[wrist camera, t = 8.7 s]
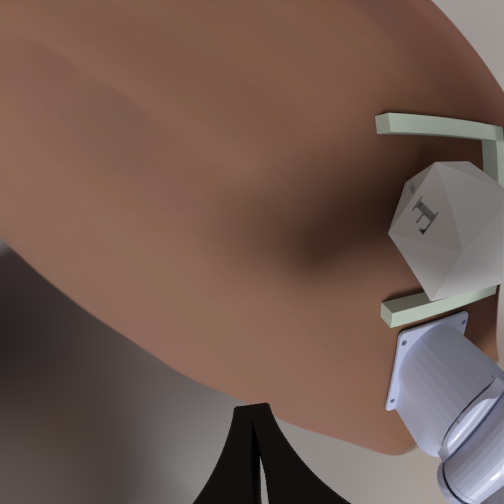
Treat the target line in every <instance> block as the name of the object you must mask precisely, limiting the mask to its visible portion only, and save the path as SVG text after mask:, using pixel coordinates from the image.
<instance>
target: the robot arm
mask: <svg viewBox="0 0 504 504" xmlns="http://www.w3.org/2000/svg"><path fill="white" fill-rule="evenodd" d="M467 319H468V313H467V312H466V311H463V312H460V313H457V314H454V315H452V316H449V317H446V318H443V319H440V320H437V321H434V322H431V323H428V324H424V325H421V326H418V327H415V328H411V329H408V330H405V331H402V332H401V333H400V334H399V336H398V342H397V349H396V355H395V361H394V367H393V372H392V378H391V383H390V388H389V392H388V397H387V401H386V406H385V408H386V410H387V411H390V410H393V409H396V410H397V412H398V414H399V415H400V417H401V419H402V420H403V422H404V423H405V425H406V427H407V428H408V430H409V432H410V433H411V435H412V436H413V438H414V440H415V441H416V443H417V445H418V446H419V447H420V448H421V449H422V450H423V451H424V452H425V453H427V454H429V455H431V456H435V457H440V458H441V460H442V462H441V463H440V465H439V467H438V471H437V480H438V485H439V488H440V491H441V493H442V495H443V497H444V498H445V500H446V501H447V502H449V503H450V504H504V371H503V370H502V369H501V368H500V367H499V366H497V365H496V364H495V363H494V362H493V361H492V360H491V359H490V358H489V357H488V356H486V355H485V354H484V353H483V352H482V351H481V350H480V349H479V348H477V347H476V346H475V345H474V344H473V343H472V342H471V341H469V340H468V339H467V338H466V337H465V336H464V332H465V328H466V324H467ZM404 340H405V341H404ZM403 341H404V342H403ZM402 342H403V343H402ZM260 457H261V461H262V465H263V469H264V473H265V478H266V486H267V494H268V502H269V504H351V503H349V502H348V501H346V500H345V499H344V498H342V497H341V496H339V495H338V494H337V493H336V492H334V491H333V490H332V489H331V488H330V487H328V486H327V485H326V484H325V483H324V482H322V481H321V480H320V479H319V478H318V477H317V476H316V475H315V474H314V473H313V472H312V471H311V470H310V469H309V468H308V466H307V465H306V464H305V463H304V462H303V461H302V460H301V458H300V457H299V456H298V455H297V453H296V452H295V451H294V449H293V448H292V447H291V446H290V444H289V442H288V441H287V439H286V438H285V436H284V435H283V433H282V432H281V430H280V428H279V427H278V424H277V422H276V421H275V418H274V416H273V414H272V411H271V409H270V405H269V404H268V403H261V404H253V405H246V406H237V407H235V408H234V413H233V419H232V423H231V427H230V430H229V434H228V437H227V440H226V442H225V446H224V448H223V451H222V453H221V456H220V458H219V460H218V462H217V464H216V467H215V469H214V471H213V473H212V474H211V476H210V478H209V480H208V481H207V483H206V485H205V486H204V488H203V489H202V491H201V493H200V494H199V496H198V497H197V499H196V500H195V501H194V503H193V504H262V503H261V477H260Z"/></svg>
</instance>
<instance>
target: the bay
mask: <svg viewBox="0 0 504 504" xmlns="http://www.w3.org/2000/svg"><path fill="white" fill-rule="evenodd" d="M375 121H376V129H377V134H404V135H428V136H443V137H456V138H466V139H476V140H482V153H483V172H484V173H486V174H487V175H488V176H490V177H491V178H492V179H493V180H495V181H496V182H497V183H499V184H500V185H501V186H502V187H504V138H503V129H502V127H499V126H494V125H489V124H484V123H478V122H472V121H465V120H459V119H451V118H443V117H435V116H425V115H413V114H399V113H386V114H382V115H378V116H375ZM496 287H497V285H495V286H491V287H488V288H484V289H480V290H476V291H473V292H469V293H465V294H461V295H457V296H453V297H448V298H444V299H440V300H435V301H430V299H429V297H428V296H427V294H426V292H422V293H418V294H415V295H411V296H407V297H402V298H398V299H394V300H390V301H386V302H381V314H380V317H381V318H382V319H383V320H384V321H385V322H386V323H387V324H388V325H389V326H390V327H391V328H392V327H396V326H399V325H403V324H406V323H410V322H413V321H417V320H420V319H423V318H427V317H430V316H433V315H436V314H439V313H442V312H445V311H449V310H452V309H454V308H457V307H460V306H463V305H466V304H469V303H472V302H474V301H477V300H480V299H482V298H485V297H488V296H490V295H493V294H495V293H496Z"/></svg>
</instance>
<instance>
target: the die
mask: <svg viewBox="0 0 504 504" xmlns="http://www.w3.org/2000/svg"><path fill="white" fill-rule="evenodd" d="M388 234H389V236H390V237H391V239H392V240H393V242H394V243H395V245H396V246H397V248H398V249H399V251H400V252H401V254H402V255H403V257H404V258H405V260H406V261H407V263H408V265H409V266H410V268H411V269H412V271H413V273H414V274H415V276H416V277H417V279H418V281H419V282H420V284H421V286H422V287H423V289H424V291H425V292H426V294H427V296H428V297H429V299H430V301H435V300H440V299H444V298H448V297H453V296H457V295H461V294H465V293H469V292H473V291H476V290H480V289H484V288H488V287H491V286H495V285H498V284H502V283H504V187H502V186H501V185H500V184H499V183H497V182H496V181H495V180H493V179H492V178H491V177H490V176H488V175H487V174H486V173H484V172H483V171H482V170H480V169H479V168H477V167H476V166H475V165H473V164H472V163H470V162H469V161H456V162H435V163H433V164H432V165H430V166H429V167H427V168H426V169H424V170H423V171H421V172H420V173H418V174H417V175H415V176H414V177H412V178H411V179H409V180H408V181H406V182H405V185H404V188H403V191H402V194H401V198H400V200H399V203H398V206H397V209H396V212H395V215H394V218H393V220H392V223H391V226H390V229H389V231H388Z"/></svg>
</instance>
